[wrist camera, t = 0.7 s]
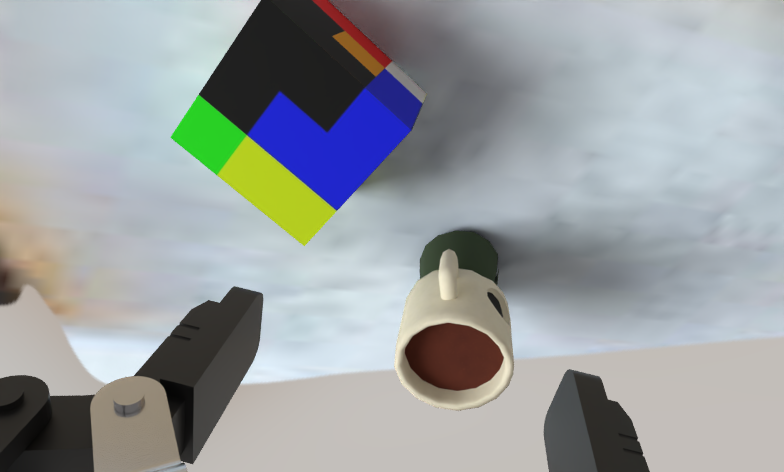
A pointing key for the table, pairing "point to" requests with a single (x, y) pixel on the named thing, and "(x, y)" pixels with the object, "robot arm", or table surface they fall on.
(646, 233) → the table surface
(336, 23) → the puzzle toy
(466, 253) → the character mug
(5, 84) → the table surface
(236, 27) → the table surface
